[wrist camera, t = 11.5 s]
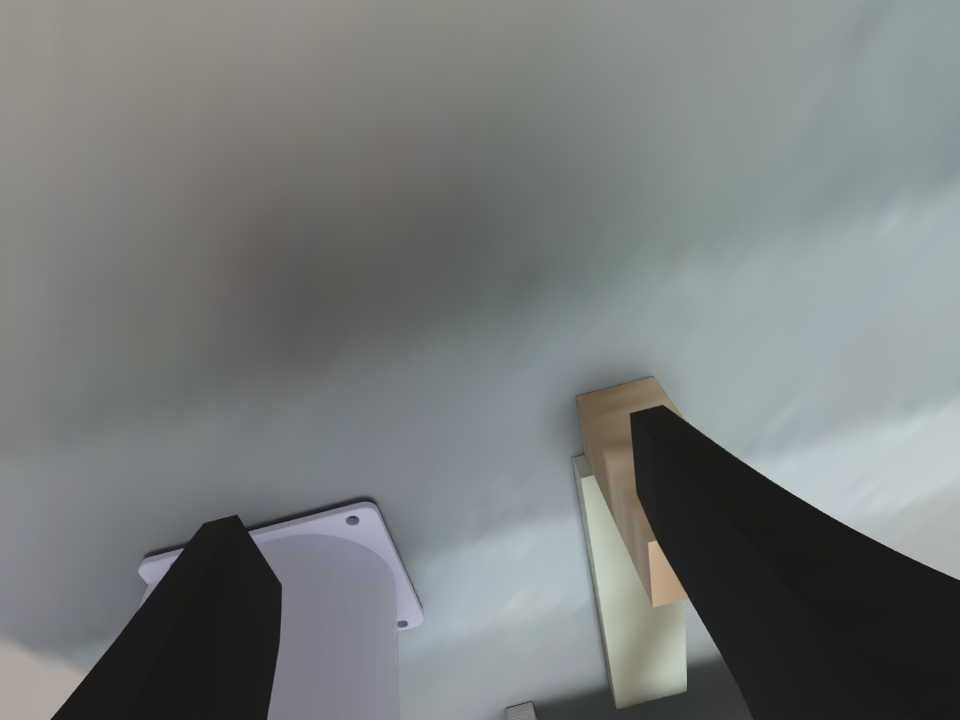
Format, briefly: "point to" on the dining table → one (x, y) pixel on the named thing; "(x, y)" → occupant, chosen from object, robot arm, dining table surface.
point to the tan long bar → (628, 552)
